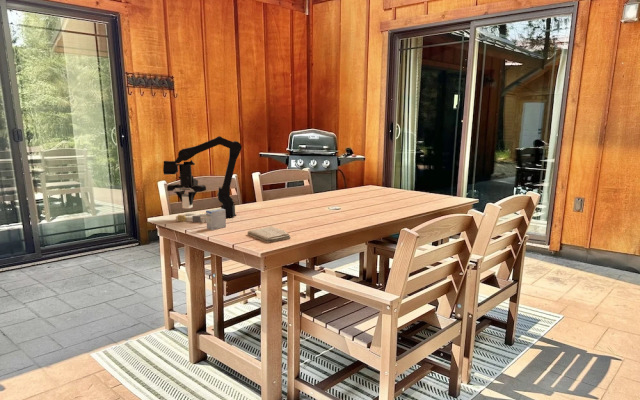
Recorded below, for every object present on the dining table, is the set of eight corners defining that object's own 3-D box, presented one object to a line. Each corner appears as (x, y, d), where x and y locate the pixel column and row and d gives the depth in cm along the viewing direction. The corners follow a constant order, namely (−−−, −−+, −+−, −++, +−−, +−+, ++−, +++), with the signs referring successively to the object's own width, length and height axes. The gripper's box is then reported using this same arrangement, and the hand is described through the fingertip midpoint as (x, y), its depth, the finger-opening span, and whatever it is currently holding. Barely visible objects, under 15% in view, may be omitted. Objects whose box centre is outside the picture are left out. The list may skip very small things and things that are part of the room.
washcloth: (268, 244, 168) (268, 237, 168) (246, 235, 182) (246, 228, 181) (292, 239, 176) (292, 232, 175) (269, 231, 189) (269, 224, 189)
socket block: (213, 217, 216) (213, 211, 215) (202, 222, 204) (202, 216, 204) (187, 216, 219) (186, 210, 218) (174, 221, 208) (174, 215, 207)
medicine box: (220, 225, 198) (219, 207, 197) (226, 227, 195) (225, 209, 194) (206, 228, 192) (205, 210, 191) (212, 230, 189) (211, 211, 188)
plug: (192, 207, 214) (191, 193, 212) (189, 208, 210) (188, 194, 209) (186, 206, 214) (185, 193, 213) (182, 208, 211) (181, 194, 210)
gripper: (210, 172, 215) (211, 202, 218) (177, 171, 219) (179, 201, 222) (199, 175, 204) (201, 206, 207) (165, 174, 208) (167, 205, 211)
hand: (187, 204), depth 212 cm, fingers closed on plug, 4 cm apart
